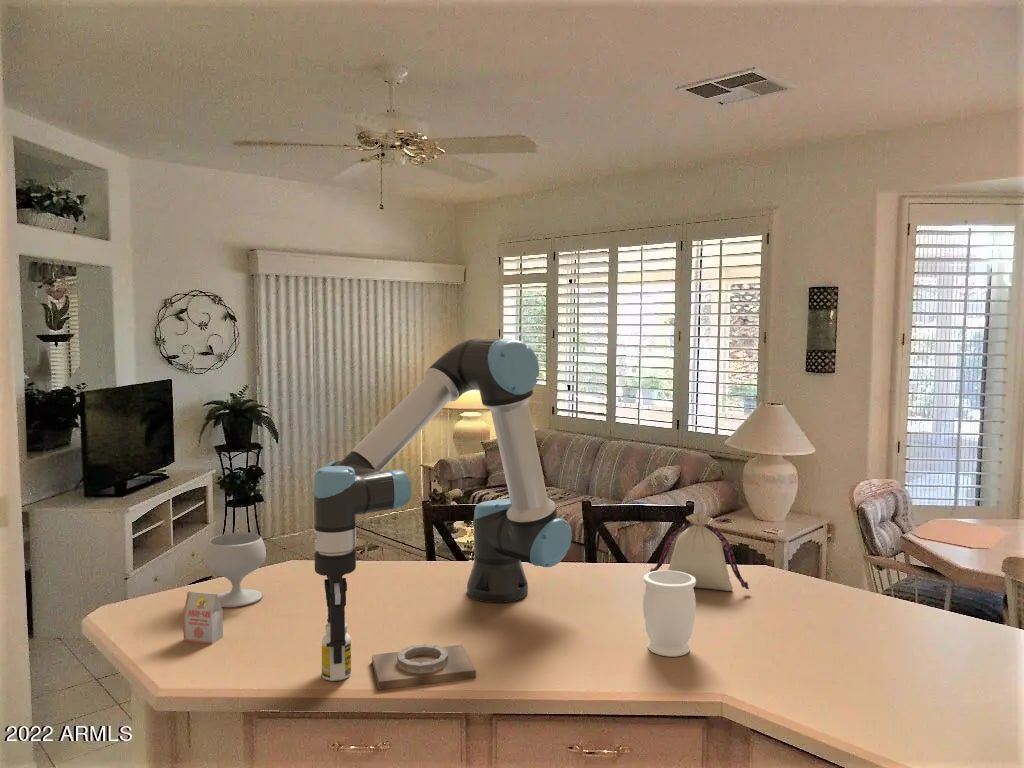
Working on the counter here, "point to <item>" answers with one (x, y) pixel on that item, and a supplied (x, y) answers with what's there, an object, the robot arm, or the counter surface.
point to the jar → (669, 611)
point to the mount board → (422, 666)
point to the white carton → (202, 618)
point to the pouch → (701, 554)
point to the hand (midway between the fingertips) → (336, 671)
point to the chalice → (235, 564)
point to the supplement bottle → (327, 654)
